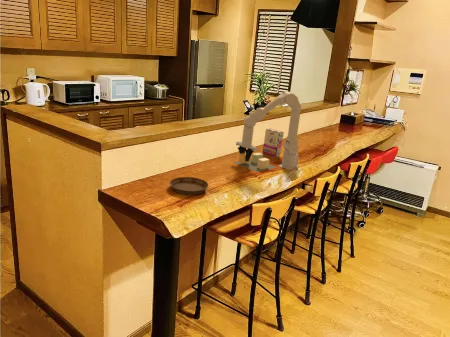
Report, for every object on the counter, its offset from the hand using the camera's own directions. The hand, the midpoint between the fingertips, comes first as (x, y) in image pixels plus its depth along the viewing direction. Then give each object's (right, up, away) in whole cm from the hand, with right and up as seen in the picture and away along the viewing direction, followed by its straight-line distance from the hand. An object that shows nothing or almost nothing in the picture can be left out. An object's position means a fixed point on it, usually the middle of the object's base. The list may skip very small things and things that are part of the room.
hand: (244, 160), depth 214 cm
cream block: (+10, -4, -2) cm, 11 cm away
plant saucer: (-28, -15, -43) cm, 54 cm away
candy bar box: (+19, +4, +28) cm, 34 cm away
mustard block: (0, -1, 0) cm, 1 cm away
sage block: (+7, -1, +7) cm, 10 cm away
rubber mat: (+6, -3, +1) cm, 7 cm away
